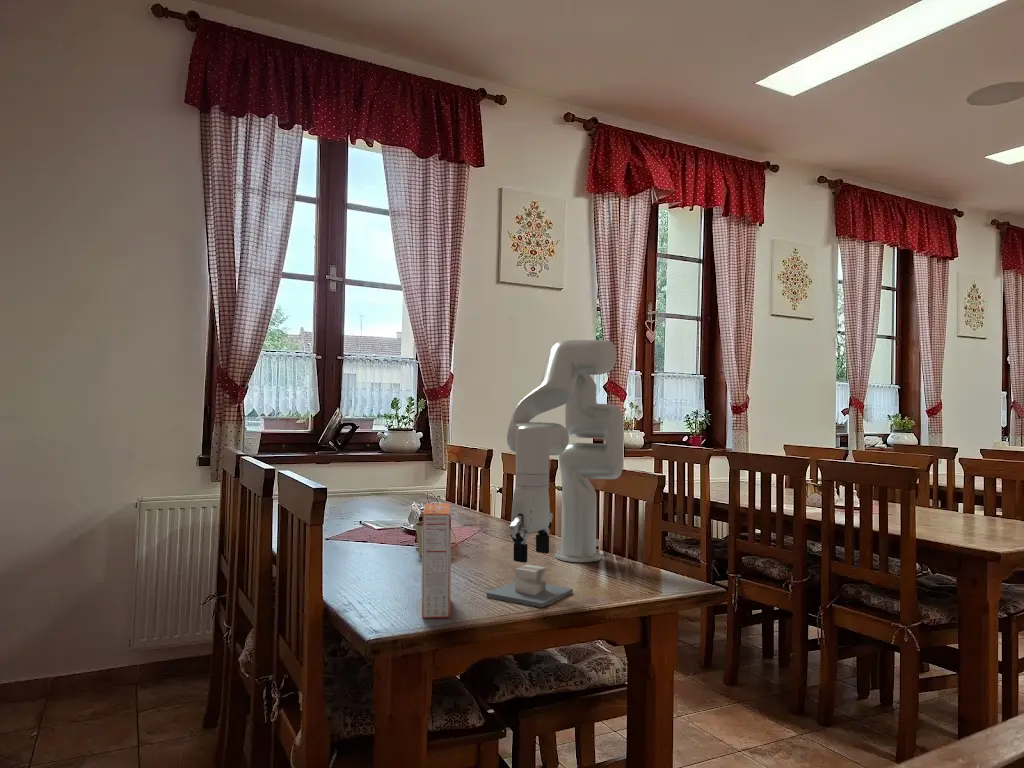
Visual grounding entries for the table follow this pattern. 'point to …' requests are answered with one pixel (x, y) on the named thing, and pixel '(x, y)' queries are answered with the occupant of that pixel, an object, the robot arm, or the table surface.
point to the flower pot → (419, 535)
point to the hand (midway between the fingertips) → (531, 557)
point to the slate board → (529, 595)
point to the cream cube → (530, 579)
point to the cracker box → (436, 560)
